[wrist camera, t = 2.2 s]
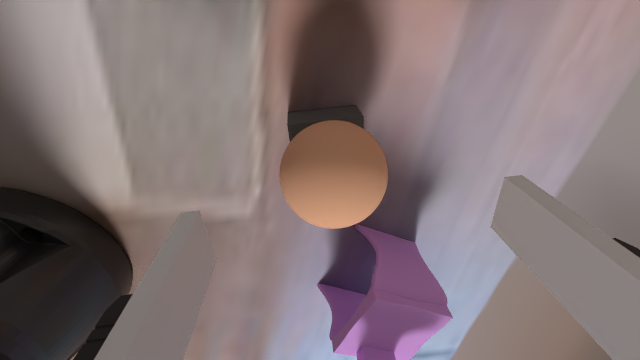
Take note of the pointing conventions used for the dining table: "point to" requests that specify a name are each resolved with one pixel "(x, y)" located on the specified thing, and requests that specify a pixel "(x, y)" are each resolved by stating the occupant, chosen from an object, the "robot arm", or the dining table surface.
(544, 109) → the dining table surface
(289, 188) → the ball
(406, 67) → the dining table surface
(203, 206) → the dining table surface
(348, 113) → the square sleeve
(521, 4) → the dining table surface
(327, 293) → the toy chair
